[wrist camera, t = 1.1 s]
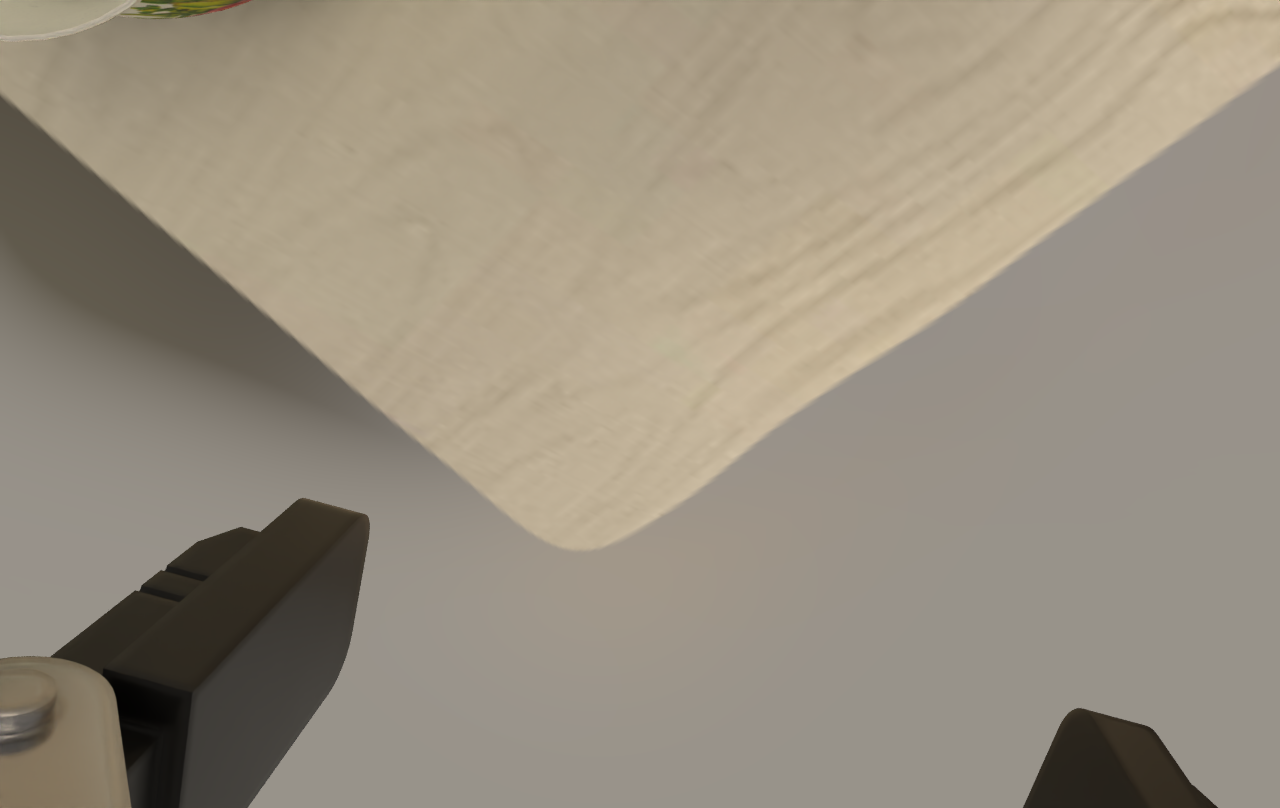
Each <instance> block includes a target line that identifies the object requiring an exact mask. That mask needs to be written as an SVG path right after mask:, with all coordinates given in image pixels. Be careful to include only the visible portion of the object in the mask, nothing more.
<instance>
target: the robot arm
mask: <svg viewBox="0 0 1280 808" xmlns="http://www.w3.org/2000/svg"><path fill="white" fill-rule="evenodd" d="M369 529H370V523H369V518H368V516H367V515H365V514H362V513H358V512H354V511H351V510H347V509H343V508H340V507H336V506H332V505H328V504H324V503H321V502H317V501H313V500H310V499H306V498H301V499H299V500H297V501H296V502H295V503H293V504H292V505H291V506H290V507H289V508H288V509H287V510H285V511H284V512H283V513H282V514H281V515H280V516H278V517H277V518H276V519H275V520H274V521H273V522H271V523H270V524H269V525H268V526H267V527H266V528H265V529H263V530H262V531H261V532H258V531H254V530H250V529H247V528H243V527H239V528H236V529H233V530H230V531H228V532H225V533H222V534H219V535H216V536H213V537H210V538H207V539H204V540H201V541H198V542H197V543H195V544H194V545H193V546H191V547H190V548H189V549H188V550H186V551H185V552H184V553H182V554H181V555H180V556H179V557H177V558H176V559H175V560H173V561H172V562H171V563H170V564H168V565H167V568H166V570H165V571H162V570H161V571H160V572H158V573H157V574H156V575H154V576H153V577H152V578H151V579H149V580H148V581H147V582H145V583H144V584H143V585H142V586H141V589H140V591H134V592H133V593H131V594H130V595H129V596H127V597H126V598H125V599H124V600H122V601H121V602H120V603H119V604H117V605H116V606H115V607H113V608H112V609H111V610H110V611H108V612H107V613H106V614H104V615H103V616H102V617H101V618H99V619H98V620H97V621H96V622H94V623H93V624H92V625H90V626H89V627H88V628H87V629H85V630H84V631H83V632H81V633H80V634H79V635H78V636H76V637H75V638H74V639H73V640H71V641H70V642H69V643H67V644H66V645H65V646H63V647H62V648H61V649H60V650H58V651H57V652H56V653H55V654H53V655H52V656H51V657H36V656H26V657H25V656H24V657H9V658H2V659H0V808H248V806H249V805H250V803H251V802H252V801H253V799H254V798H255V796H256V795H257V794H258V792H259V791H260V789H261V788H262V786H263V785H264V784H265V782H266V781H267V779H268V778H269V777H270V775H271V774H272V773H273V771H274V770H275V768H276V767H277V766H278V764H279V763H280V761H281V760H282V758H283V757H284V756H285V754H286V753H287V751H288V750H289V748H290V747H291V746H292V744H293V743H294V742H295V740H296V739H297V737H298V736H299V734H300V733H301V732H302V730H303V729H304V728H305V726H306V725H307V723H308V722H309V720H310V719H311V718H312V716H313V715H314V713H315V712H316V710H317V709H318V708H319V706H320V705H321V704H322V702H323V701H324V699H325V698H326V697H327V695H328V694H329V692H330V691H331V689H332V687H333V686H334V684H335V682H336V680H337V678H338V676H339V673H340V671H341V668H342V666H343V663H344V661H345V658H346V655H347V651H348V648H349V644H350V640H351V636H352V631H353V625H354V619H355V613H356V608H357V602H358V596H359V590H360V585H361V579H362V573H363V568H364V562H365V556H366V551H367V544H368V539H369ZM1023 808H1218V807H1217V806H1216V805H1214V804H1213V803H1212V802H1211V801H1210V800H1209V799H1208V798H1207V797H1206V796H1204V795H1203V794H1202V793H1201V792H1200V791H1199V790H1198V789H1197V788H1196V787H1195V786H1193V785H1191V783H1190V782H1189V780H1188V779H1187V777H1186V776H1185V774H1184V773H1183V772H1182V770H1181V769H1180V767H1179V766H1178V764H1177V763H1176V761H1175V760H1174V758H1173V757H1172V756H1171V754H1170V753H1169V751H1168V750H1167V748H1166V747H1165V745H1164V744H1163V742H1162V741H1161V739H1160V738H1159V737H1158V735H1157V734H1156V733H1155V732H1154V730H1153V729H1151V728H1150V727H1148V726H1145V725H1141V724H1138V723H1134V722H1130V721H1127V720H1123V719H1119V718H1115V717H1111V716H1108V715H1104V714H1101V713H1097V712H1093V711H1089V710H1086V709H1081V708H1077V709H1074V710H1072V711H1071V712H1069V713H1068V714H1067V716H1066V717H1065V718H1064V720H1063V721H1062V723H1061V724H1060V726H1059V729H1058V731H1057V733H1056V735H1055V737H1054V740H1053V742H1052V744H1051V746H1050V749H1049V751H1048V753H1047V755H1046V758H1045V760H1044V762H1043V764H1042V767H1041V769H1040V771H1039V773H1038V776H1037V778H1036V780H1035V782H1034V785H1033V787H1032V789H1031V791H1030V793H1029V796H1028V798H1027V800H1026V802H1025V805H1024V807H1023Z"/></svg>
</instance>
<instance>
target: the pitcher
mask: <svg viewBox="0 0 1280 808" xmlns="http://www.w3.org/2000/svg"><path fill="white" fill-rule="evenodd" d="M249 1H252V0H0V41H11V42H15V41H34V40H47V39H51V38H56V37H61V36H66V35H71V34H75V33H78V32H81V31H84V30H86V29H89V28H92V27H94V26H97V25H100V24H102V23H105V22H107V21H109V20H111V19H113V18H114V17H116V16H119V17H130V18H143V19H164V18H182V17H190V16H198V15H203V14H208V13H213V12H218V11H222V10H225V9H229V8H232V7H235V6H238V5H241V4H244V3H246V2H249Z"/></svg>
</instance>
